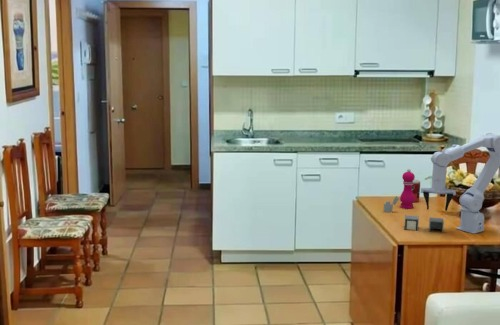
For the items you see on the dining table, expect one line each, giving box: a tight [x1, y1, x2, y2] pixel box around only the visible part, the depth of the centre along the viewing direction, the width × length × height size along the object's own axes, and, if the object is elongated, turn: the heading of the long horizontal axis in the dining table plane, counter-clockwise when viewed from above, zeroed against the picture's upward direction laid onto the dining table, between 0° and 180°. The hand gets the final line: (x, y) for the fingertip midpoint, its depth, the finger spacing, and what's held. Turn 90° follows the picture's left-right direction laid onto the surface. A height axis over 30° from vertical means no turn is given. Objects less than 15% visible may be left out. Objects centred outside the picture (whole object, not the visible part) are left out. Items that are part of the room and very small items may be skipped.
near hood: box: [428, 217, 445, 234], centre depth 263 cm, size 6×6×5 cm
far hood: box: [403, 214, 420, 231], centre depth 266 cm, size 6×6×5 cm
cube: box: [406, 220, 417, 231], centre depth 266 cm, size 4×4×4 cm
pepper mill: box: [399, 168, 416, 210], centre depth 301 cm, size 7×7×20 cm
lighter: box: [383, 196, 400, 213], centre depth 293 cm, size 7×2×8 cm, turn 86°
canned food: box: [412, 179, 421, 204], centre depth 316 cm, size 8×8×11 cm
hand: (436, 209), depth 261 cm, fingers open, 7 cm apart
